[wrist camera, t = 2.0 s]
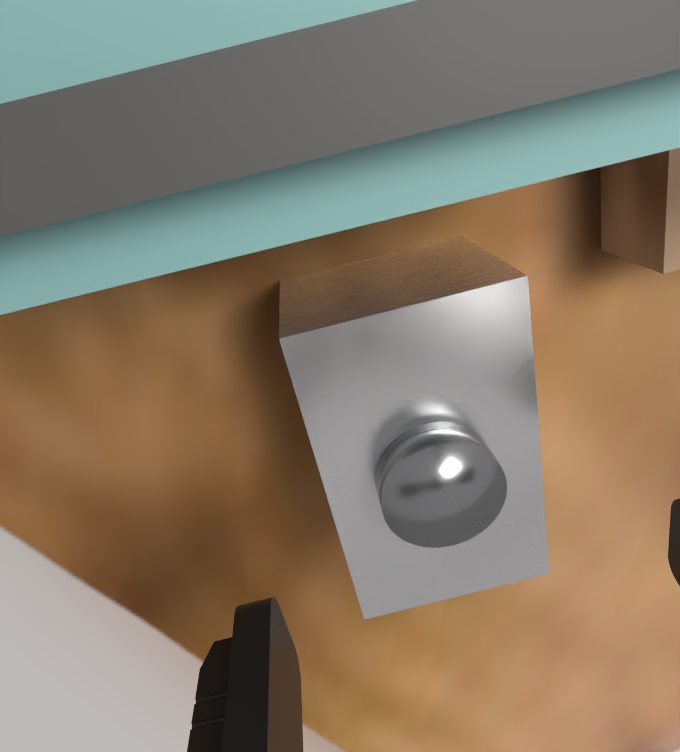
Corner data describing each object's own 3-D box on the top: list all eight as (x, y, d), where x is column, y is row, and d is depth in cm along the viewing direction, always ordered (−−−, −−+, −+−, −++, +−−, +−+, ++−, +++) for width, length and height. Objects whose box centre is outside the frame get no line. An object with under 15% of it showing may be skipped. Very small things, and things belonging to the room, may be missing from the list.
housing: (279, 278, 16) (278, 357, 10) (457, 233, 16) (548, 288, 10) (345, 507, 20) (369, 650, 14) (488, 471, 20) (565, 601, 14)
